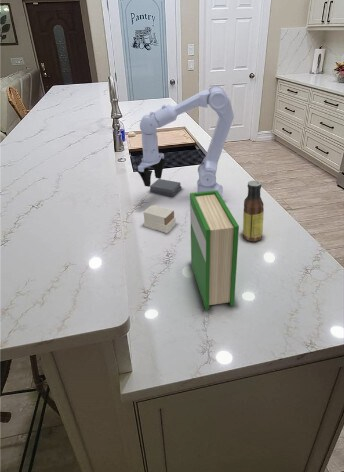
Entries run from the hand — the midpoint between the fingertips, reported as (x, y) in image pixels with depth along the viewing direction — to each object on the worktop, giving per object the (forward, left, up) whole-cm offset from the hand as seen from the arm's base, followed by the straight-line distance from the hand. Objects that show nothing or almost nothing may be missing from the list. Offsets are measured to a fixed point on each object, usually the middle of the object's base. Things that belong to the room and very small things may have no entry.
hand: (152, 181), depth 126 cm
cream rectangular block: (-10, +12, -10) cm, 18 cm away
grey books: (+2, -12, -10) cm, 16 cm away
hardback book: (-38, +30, -10) cm, 49 cm away
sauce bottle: (-41, +4, -10) cm, 42 cm away
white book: (-10, +12, -7) cm, 17 cm away
